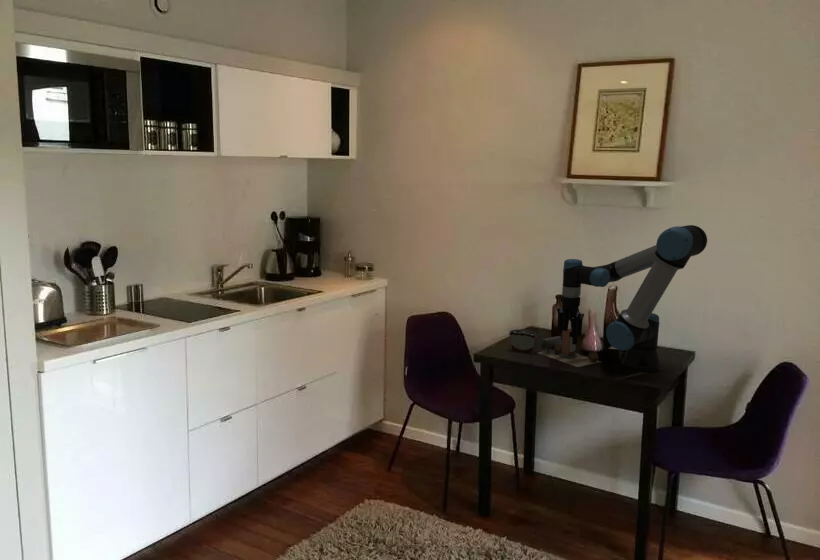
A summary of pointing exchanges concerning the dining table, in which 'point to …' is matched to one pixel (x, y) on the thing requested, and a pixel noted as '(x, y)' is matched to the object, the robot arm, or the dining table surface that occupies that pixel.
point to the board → (573, 360)
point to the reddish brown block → (567, 345)
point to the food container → (522, 341)
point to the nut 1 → (558, 348)
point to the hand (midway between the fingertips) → (568, 349)
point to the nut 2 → (593, 356)
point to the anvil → (550, 345)
